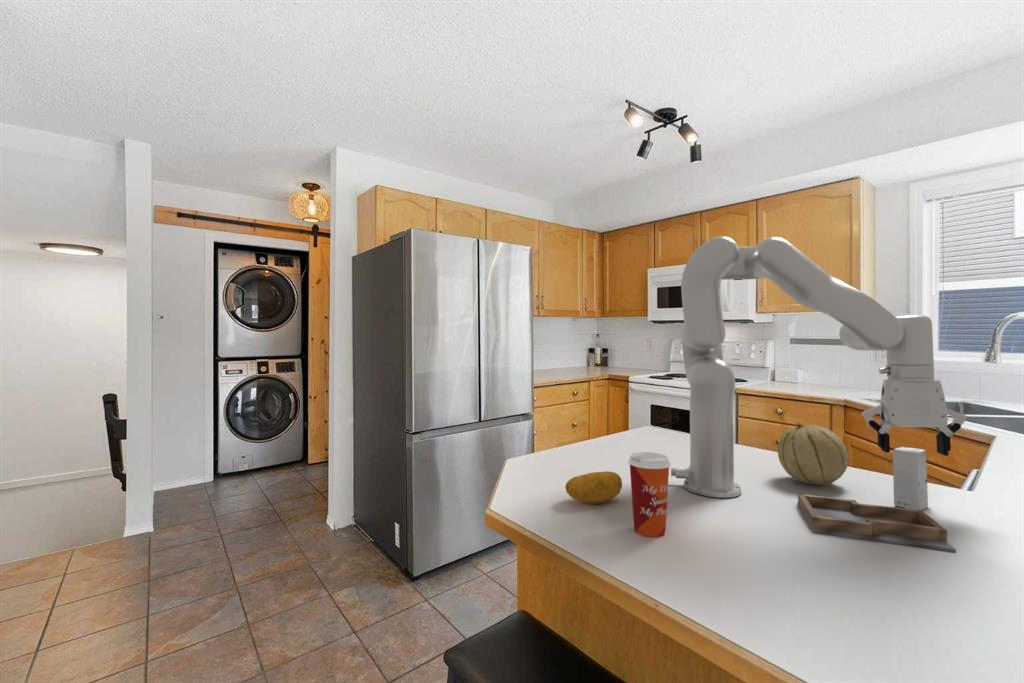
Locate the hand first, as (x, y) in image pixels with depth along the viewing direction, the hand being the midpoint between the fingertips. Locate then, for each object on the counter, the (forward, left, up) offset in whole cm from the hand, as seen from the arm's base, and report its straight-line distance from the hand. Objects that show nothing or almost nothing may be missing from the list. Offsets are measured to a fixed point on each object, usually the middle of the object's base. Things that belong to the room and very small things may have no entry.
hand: (913, 452), depth 95 cm
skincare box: (-1, 0, -12) cm, 12 cm away
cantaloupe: (-17, +10, -12) cm, 23 cm away
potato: (-64, -24, -12) cm, 69 cm away
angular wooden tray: (-13, -16, -11) cm, 23 cm away
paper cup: (-51, -35, -12) cm, 63 cm away
